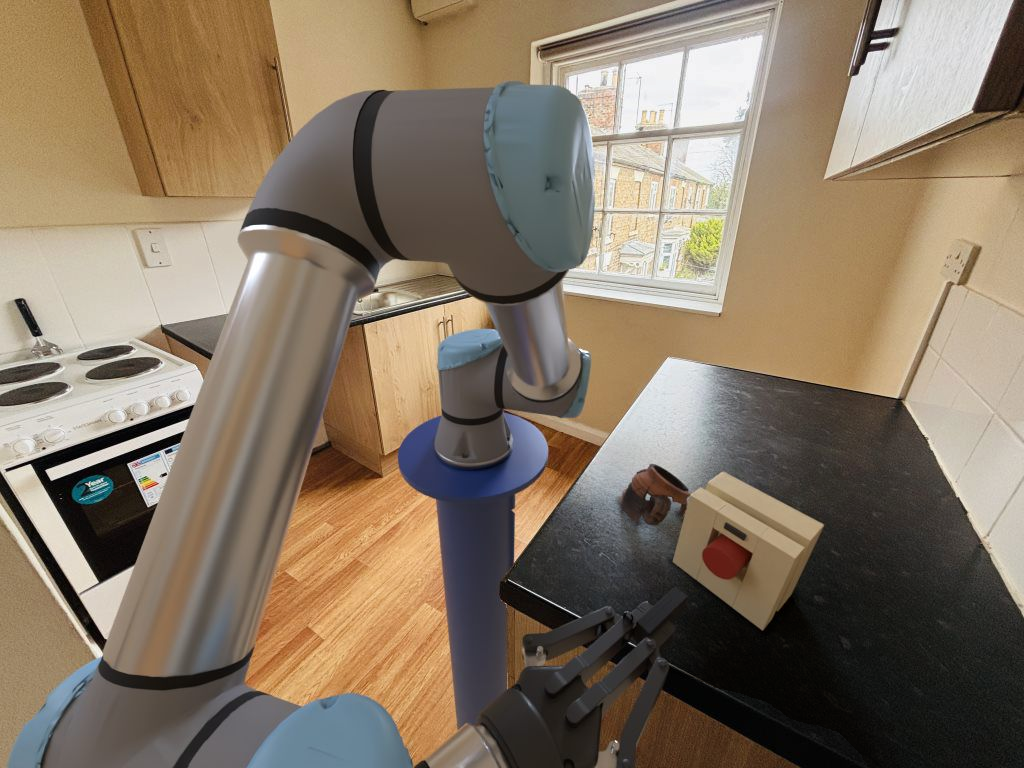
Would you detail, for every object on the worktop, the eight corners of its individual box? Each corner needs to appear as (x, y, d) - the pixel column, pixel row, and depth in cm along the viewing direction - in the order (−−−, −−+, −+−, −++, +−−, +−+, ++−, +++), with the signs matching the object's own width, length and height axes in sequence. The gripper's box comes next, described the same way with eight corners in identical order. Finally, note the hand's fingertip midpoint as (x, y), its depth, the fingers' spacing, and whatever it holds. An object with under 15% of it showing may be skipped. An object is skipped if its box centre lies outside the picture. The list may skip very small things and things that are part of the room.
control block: (671, 563, 56) (688, 495, 50) (703, 535, 60) (723, 471, 55) (761, 632, 47) (794, 560, 42) (791, 594, 52) (824, 524, 46)
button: (698, 563, 50) (705, 540, 48) (715, 548, 52) (723, 525, 50) (730, 586, 47) (739, 562, 45) (747, 569, 49) (756, 545, 47)
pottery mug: (613, 489, 70) (640, 452, 68) (660, 519, 69) (689, 482, 67) (619, 526, 58) (653, 482, 56) (676, 561, 58) (712, 518, 56)
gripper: (457, 716, 36) (625, 580, 49) (553, 899, 27) (730, 673, 40) (452, 667, 33) (634, 535, 46) (561, 857, 24) (750, 625, 37)
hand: (678, 600), depth 43 cm, fingers closed
